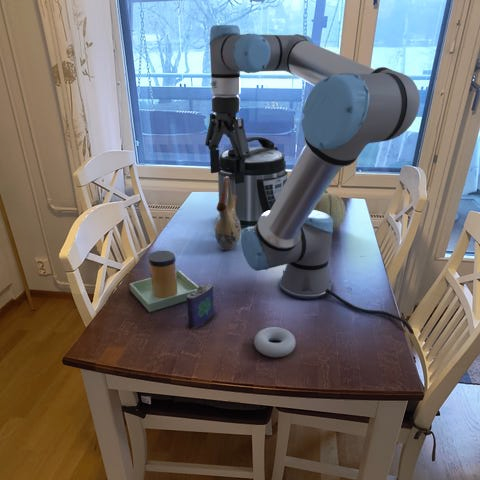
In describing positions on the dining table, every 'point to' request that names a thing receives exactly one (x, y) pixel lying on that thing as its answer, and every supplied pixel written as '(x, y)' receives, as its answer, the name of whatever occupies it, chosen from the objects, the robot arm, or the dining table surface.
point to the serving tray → (154, 303)
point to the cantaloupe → (332, 208)
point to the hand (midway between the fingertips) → (226, 177)
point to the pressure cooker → (254, 180)
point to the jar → (163, 273)
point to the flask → (200, 305)
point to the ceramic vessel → (227, 219)
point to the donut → (271, 348)
